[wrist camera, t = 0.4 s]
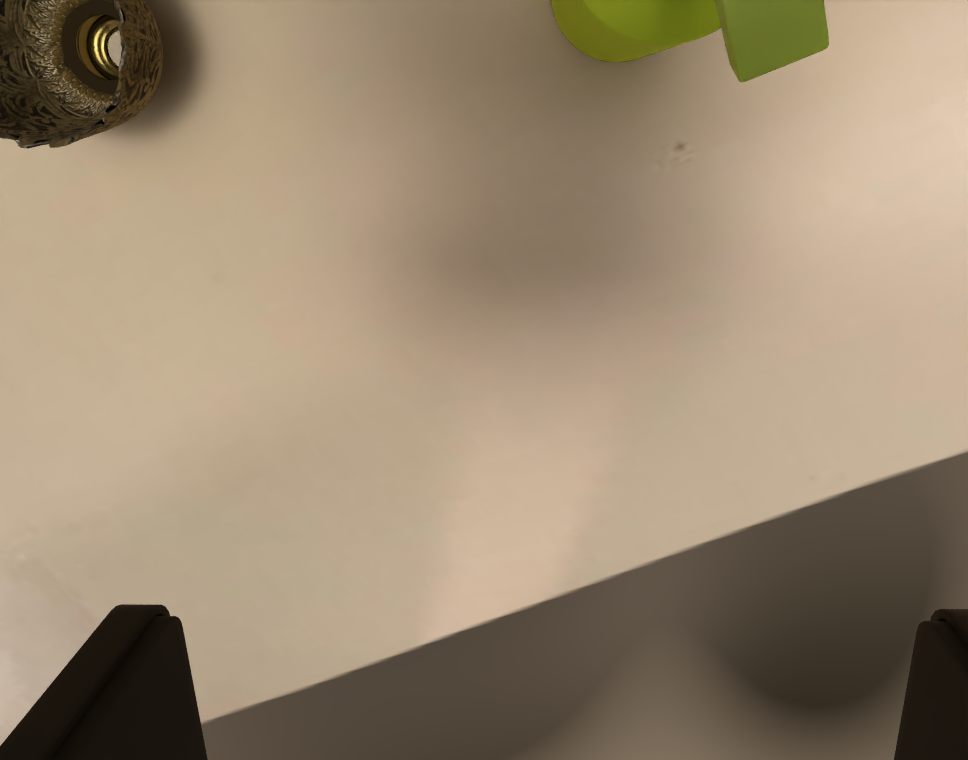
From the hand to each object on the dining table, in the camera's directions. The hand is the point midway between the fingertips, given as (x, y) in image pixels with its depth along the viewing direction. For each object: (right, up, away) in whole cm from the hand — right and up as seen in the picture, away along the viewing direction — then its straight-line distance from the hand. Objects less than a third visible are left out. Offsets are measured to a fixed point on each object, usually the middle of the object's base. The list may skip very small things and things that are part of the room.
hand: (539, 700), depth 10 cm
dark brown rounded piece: (-17, +19, +25) cm, 36 cm away
